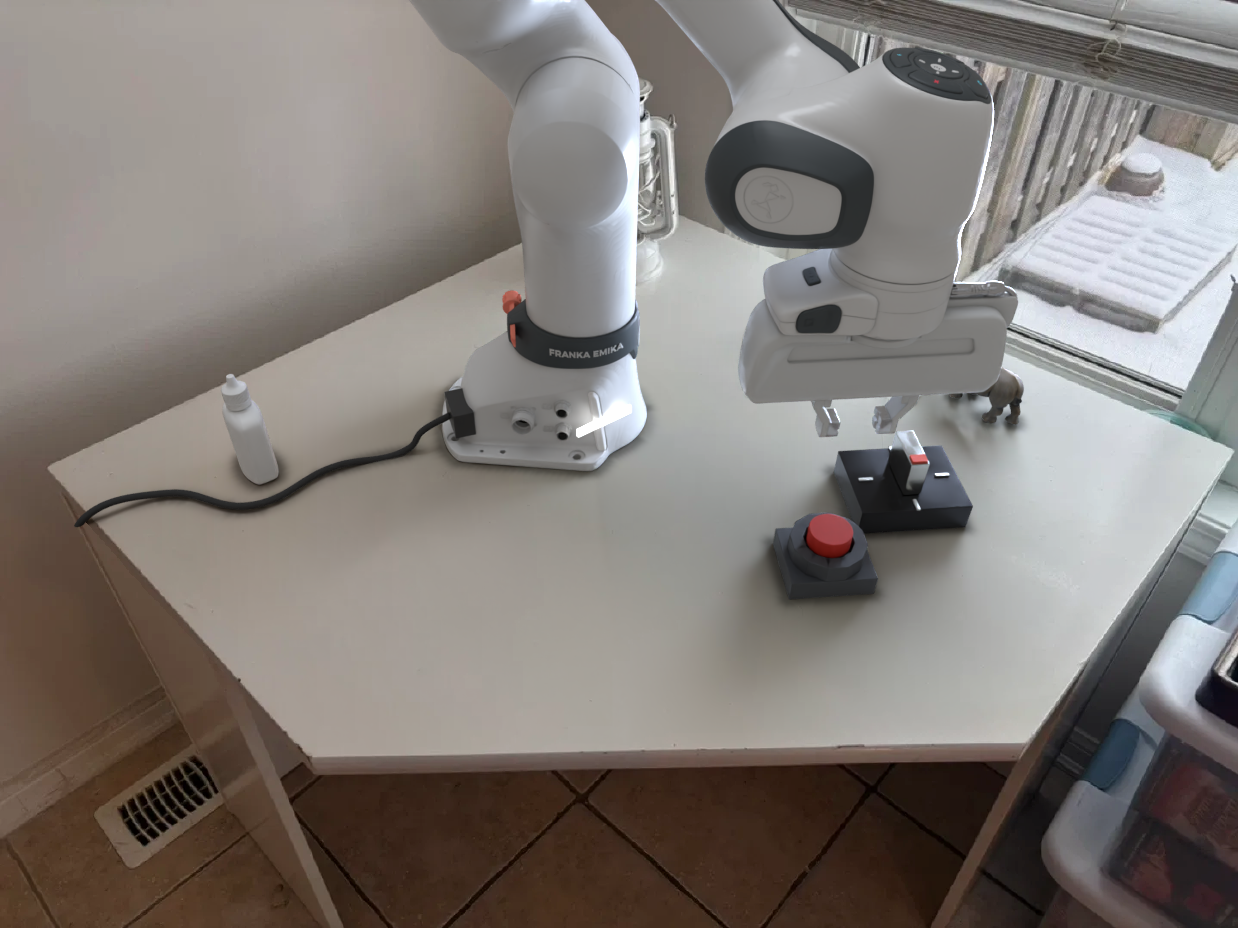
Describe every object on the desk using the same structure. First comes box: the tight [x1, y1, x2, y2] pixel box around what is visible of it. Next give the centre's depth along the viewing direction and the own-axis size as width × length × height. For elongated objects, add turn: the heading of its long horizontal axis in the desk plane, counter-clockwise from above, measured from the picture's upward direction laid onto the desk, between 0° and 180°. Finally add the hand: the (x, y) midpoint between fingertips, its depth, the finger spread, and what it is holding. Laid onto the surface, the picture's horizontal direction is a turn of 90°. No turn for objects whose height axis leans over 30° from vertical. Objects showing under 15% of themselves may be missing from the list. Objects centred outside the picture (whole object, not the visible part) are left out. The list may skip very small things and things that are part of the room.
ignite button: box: [806, 513, 853, 558], centre depth 89 cm, size 4×4×2 cm
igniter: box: [772, 512, 879, 600], centre depth 91 cm, size 8×7×4 cm
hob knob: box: [888, 429, 930, 495], centre depth 95 cm, size 5×2×4 cm, turn 6°
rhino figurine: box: [948, 366, 1025, 426], centre depth 110 cm, size 4×14×6 cm, turn 33°
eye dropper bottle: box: [220, 373, 279, 485], centre depth 97 cm, size 4×6×12 cm
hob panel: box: [833, 444, 974, 535], centre depth 98 cm, size 11×9×3 cm
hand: (854, 430), depth 80 cm, fingers open, 3 cm apart
